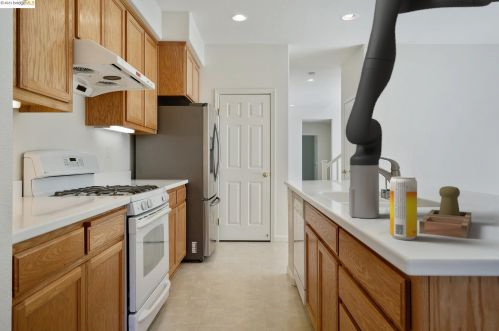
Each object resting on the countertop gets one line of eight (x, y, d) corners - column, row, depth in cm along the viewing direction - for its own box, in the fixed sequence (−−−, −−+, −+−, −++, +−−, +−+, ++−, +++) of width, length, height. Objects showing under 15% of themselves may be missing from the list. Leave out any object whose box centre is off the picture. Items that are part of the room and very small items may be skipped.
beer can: (418, 236, 81) (418, 176, 81) (415, 242, 76) (415, 178, 76) (392, 233, 85) (392, 176, 84) (387, 238, 80) (387, 177, 79)
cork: (465, 225, 93) (465, 187, 93) (442, 225, 94) (442, 187, 94) (456, 221, 99) (456, 185, 99) (434, 221, 100) (434, 185, 100)
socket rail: (467, 238, 79) (467, 226, 79) (419, 232, 85) (419, 221, 85) (471, 222, 98) (471, 212, 98) (431, 218, 104) (431, 209, 104)
